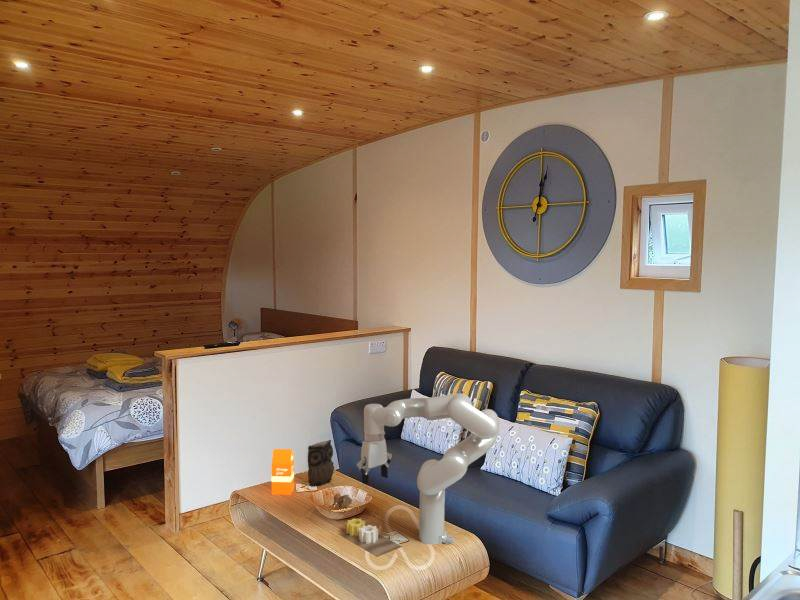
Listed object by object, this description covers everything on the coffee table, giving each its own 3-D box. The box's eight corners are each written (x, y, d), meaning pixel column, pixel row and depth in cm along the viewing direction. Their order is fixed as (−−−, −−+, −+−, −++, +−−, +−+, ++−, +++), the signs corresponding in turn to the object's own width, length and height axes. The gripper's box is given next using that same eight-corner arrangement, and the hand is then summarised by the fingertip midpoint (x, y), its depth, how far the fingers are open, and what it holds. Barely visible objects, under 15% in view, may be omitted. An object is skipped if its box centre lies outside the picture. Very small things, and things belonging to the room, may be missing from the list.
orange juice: (290, 495, 279) (290, 451, 277) (271, 494, 279) (271, 451, 278) (294, 488, 287) (294, 446, 285) (275, 488, 287) (275, 446, 285)
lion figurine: (354, 516, 257) (354, 495, 257) (343, 519, 254) (343, 497, 254) (337, 504, 269) (337, 484, 269) (326, 506, 266) (326, 486, 266)
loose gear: (381, 539, 233) (381, 529, 233) (367, 545, 228) (367, 534, 228) (369, 533, 238) (370, 523, 238) (355, 538, 233) (355, 528, 233)
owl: (334, 478, 300) (334, 438, 298) (329, 488, 287) (329, 446, 286) (309, 477, 301) (309, 437, 299) (303, 487, 288) (302, 445, 287)
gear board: (402, 550, 228) (402, 538, 227) (376, 560, 220) (377, 548, 219) (362, 528, 246) (362, 517, 245) (337, 537, 238) (337, 526, 237)
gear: (368, 530, 240) (368, 520, 240) (359, 537, 234) (359, 527, 234) (352, 526, 244) (352, 517, 243) (343, 534, 237) (343, 524, 237)
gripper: (384, 430, 244) (385, 472, 245) (350, 439, 232) (351, 484, 233) (397, 433, 239) (398, 476, 240) (363, 443, 226) (364, 489, 228)
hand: (375, 480), depth 236 cm, fingers open, 9 cm apart
